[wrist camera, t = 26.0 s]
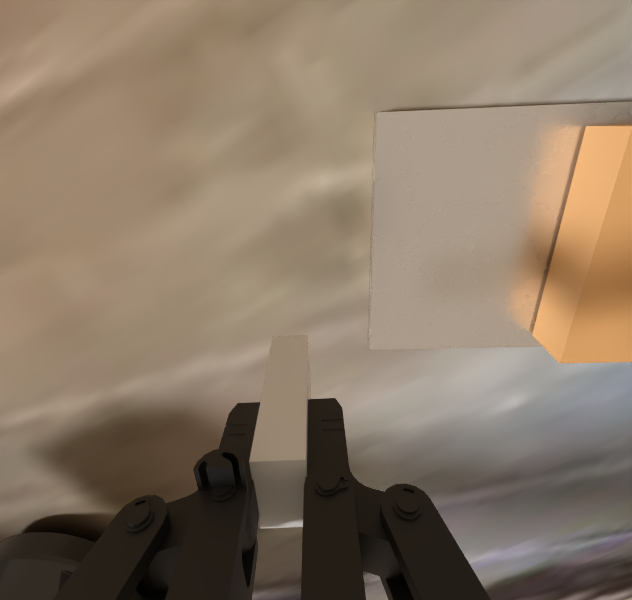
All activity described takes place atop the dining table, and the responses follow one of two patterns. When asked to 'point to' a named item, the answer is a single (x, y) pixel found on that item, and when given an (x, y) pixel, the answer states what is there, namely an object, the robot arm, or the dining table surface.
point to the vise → (470, 220)
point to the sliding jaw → (593, 257)
